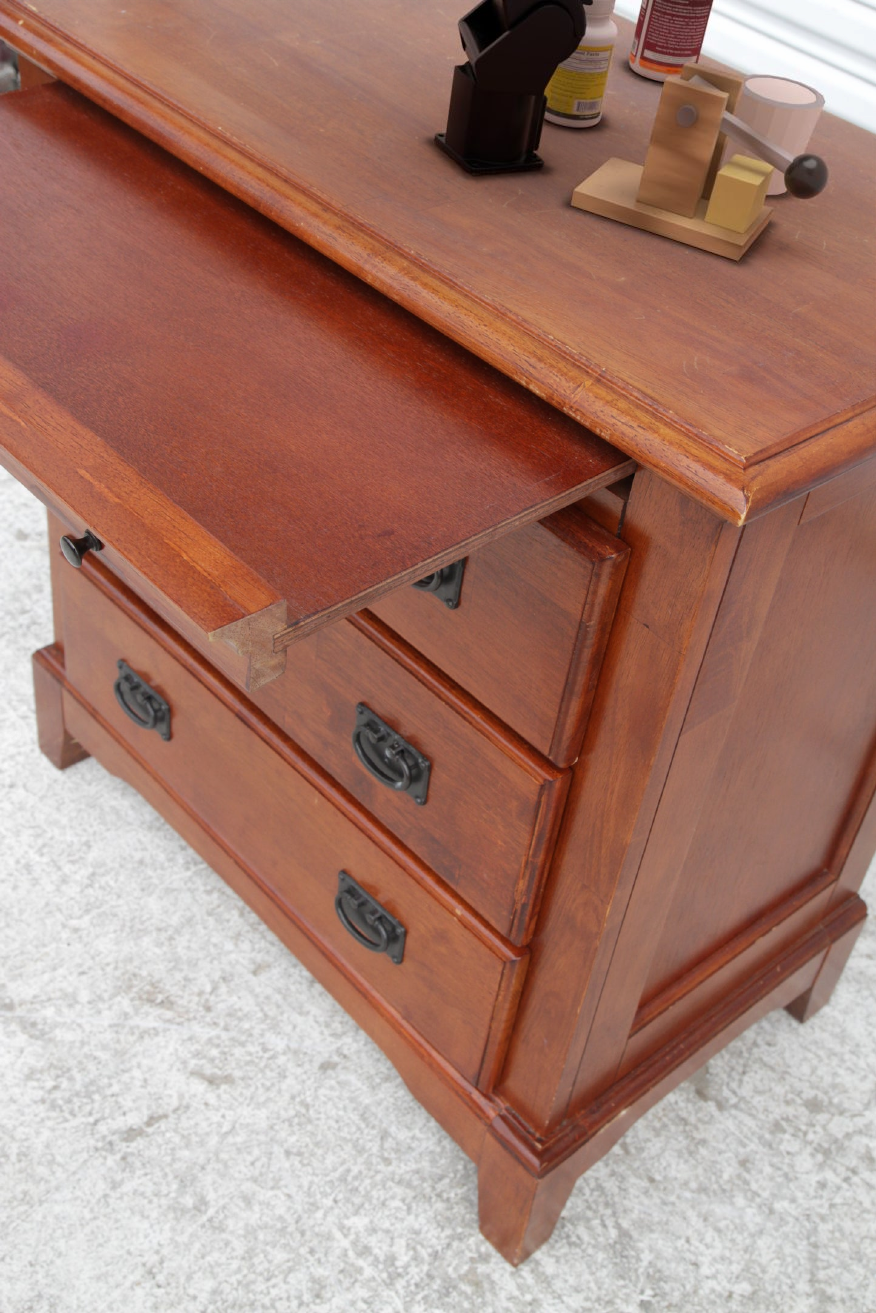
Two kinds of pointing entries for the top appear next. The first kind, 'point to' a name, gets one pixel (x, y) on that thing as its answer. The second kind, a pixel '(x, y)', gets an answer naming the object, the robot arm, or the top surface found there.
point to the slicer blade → (777, 155)
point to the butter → (739, 193)
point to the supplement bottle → (584, 72)
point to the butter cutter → (676, 168)
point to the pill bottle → (668, 36)
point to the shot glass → (777, 118)
